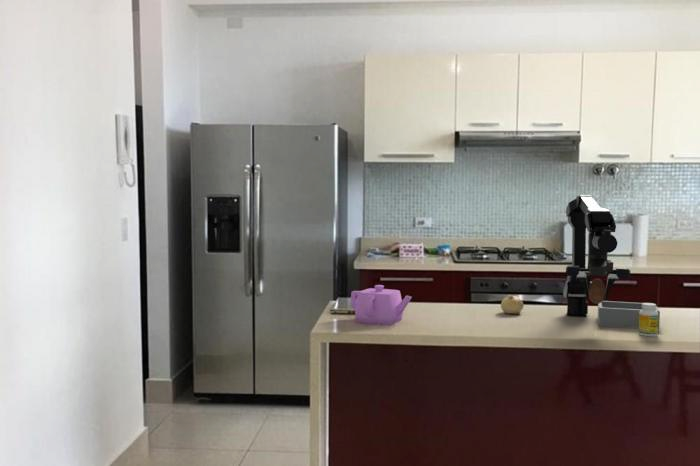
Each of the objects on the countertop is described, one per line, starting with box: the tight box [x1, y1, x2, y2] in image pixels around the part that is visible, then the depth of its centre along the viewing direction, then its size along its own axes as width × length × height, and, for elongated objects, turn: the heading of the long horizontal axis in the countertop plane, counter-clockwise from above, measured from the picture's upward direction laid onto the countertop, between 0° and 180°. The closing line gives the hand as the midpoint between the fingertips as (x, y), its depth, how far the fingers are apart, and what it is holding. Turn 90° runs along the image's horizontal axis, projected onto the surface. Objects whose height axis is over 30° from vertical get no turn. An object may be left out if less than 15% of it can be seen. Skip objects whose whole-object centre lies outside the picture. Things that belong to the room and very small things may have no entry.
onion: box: [500, 294, 524, 315], centre depth 228 cm, size 8×8×7 cm
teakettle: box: [349, 284, 412, 326], centre depth 215 cm, size 17×17×12 cm
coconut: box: [588, 278, 606, 305], centre depth 198 cm, size 5×5×8 cm
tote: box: [597, 300, 661, 331], centre depth 210 cm, size 18×14×6 cm
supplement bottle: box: [638, 302, 659, 337], centre depth 193 cm, size 5×5×10 cm
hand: (596, 298), depth 199 cm, fingers closed on coconut, 5 cm apart
